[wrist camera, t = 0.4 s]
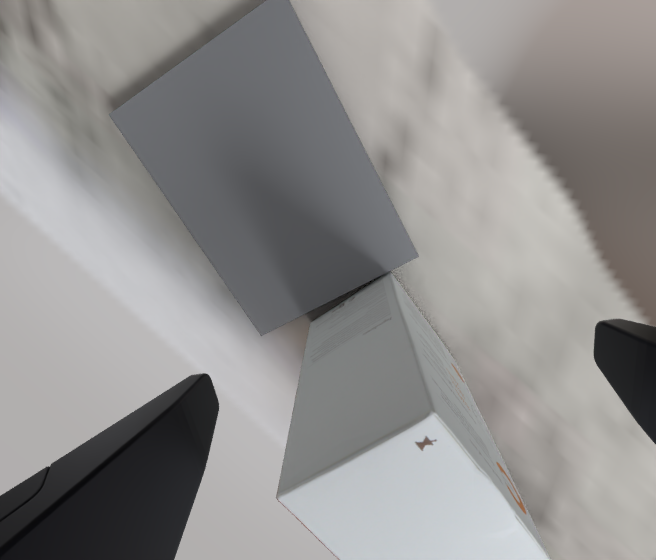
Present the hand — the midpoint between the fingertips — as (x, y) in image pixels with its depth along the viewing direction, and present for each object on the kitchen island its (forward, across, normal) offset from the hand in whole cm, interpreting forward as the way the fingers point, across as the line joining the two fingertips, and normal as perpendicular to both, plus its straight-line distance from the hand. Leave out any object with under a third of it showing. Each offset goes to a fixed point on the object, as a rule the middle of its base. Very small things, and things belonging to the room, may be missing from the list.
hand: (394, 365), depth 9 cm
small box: (+15, 0, +8) cm, 16 cm away
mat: (+14, +5, -3) cm, 16 cm away
